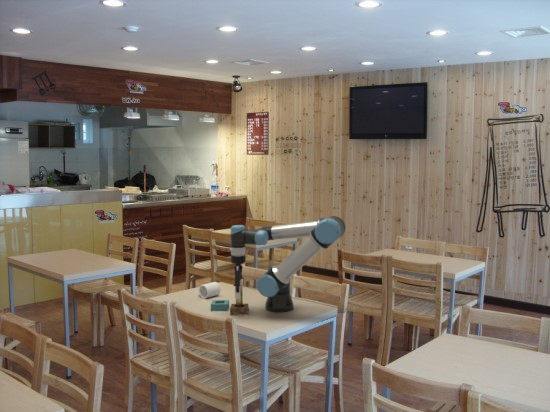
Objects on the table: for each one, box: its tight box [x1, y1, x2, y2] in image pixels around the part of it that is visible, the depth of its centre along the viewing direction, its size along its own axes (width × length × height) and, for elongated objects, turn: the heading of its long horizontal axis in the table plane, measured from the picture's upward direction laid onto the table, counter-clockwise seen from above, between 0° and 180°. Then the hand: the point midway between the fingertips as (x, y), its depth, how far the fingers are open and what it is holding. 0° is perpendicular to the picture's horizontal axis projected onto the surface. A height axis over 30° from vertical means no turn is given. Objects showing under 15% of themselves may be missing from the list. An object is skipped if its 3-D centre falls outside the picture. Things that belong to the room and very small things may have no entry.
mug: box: [198, 281, 222, 299], centre depth 337 cm, size 12×10×8 cm
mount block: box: [229, 302, 249, 316], centre depth 302 cm, size 9×9×4 cm
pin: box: [235, 285, 244, 307], centre depth 302 cm, size 4×4×14 cm
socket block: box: [210, 299, 230, 312], centre depth 310 cm, size 9×9×4 cm
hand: (238, 295), depth 301 cm, fingers open, 13 cm apart
